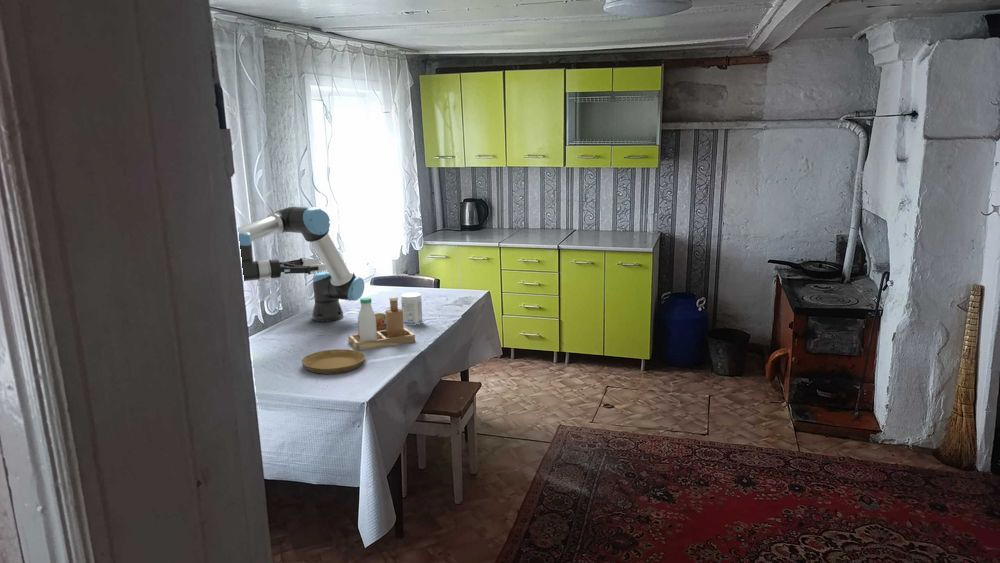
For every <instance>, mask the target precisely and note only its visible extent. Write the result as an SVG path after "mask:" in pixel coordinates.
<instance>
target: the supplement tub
mask: <svg viewBox="0 0 1000 563" xmlns="http://www.w3.org/2000/svg"><path fill="white" fill-rule="evenodd" d="M400 297H401V298H400V300H401V301H400V303H401V305H400V306H401V309H402V310H403V321H404V326H417V325H416V324H418V325H421V324H423V307H422V306H423V302H422V294H421V293H420V292H405V293H402V294H401V296H400ZM420 323H421V324H420Z"/></svg>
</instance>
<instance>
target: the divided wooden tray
mask: <svg viewBox="0 0 1000 563" xmlns="http://www.w3.org/2000/svg"><path fill="white" fill-rule="evenodd" d="M415 342H416V334H415V333H413V332H412V331H410V330H409V329H408V328H406V326H404V336H399V337H392V338H387V336H386V329H383V330H382V329H381V330H377V340H371V341H364V342H359V336H358V333H356V334H355V333H354V334H348V343H349V344H350V345H351V346H352V347H353V348H354V349H355V351H363V350H370V349H376V348H377V349H378V348H382V347H388V346H389V347H390V346H397V345H402V344H408V343H409V344H410V343H415Z"/></svg>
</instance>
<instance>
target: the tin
mask: <svg viewBox="0 0 1000 563" xmlns="http://www.w3.org/2000/svg"><path fill="white" fill-rule="evenodd" d="M375 316H376V328H377V331H379V330H382V329H383V330H384V329H386V314H385V313H381V312H376V313H375Z"/></svg>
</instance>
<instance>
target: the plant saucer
mask: <svg viewBox="0 0 1000 563" xmlns="http://www.w3.org/2000/svg"><path fill="white" fill-rule="evenodd" d="M365 358H366V356H365V354H364V353H363V352H361V351H360V350H356V349H355V350H354V349H346V348H345V349H343V348H341V349H339V348H337V349H327V350H321V351H316V352H313V353H310V354H307V355H306V356H304V357H303V358H302V360H301V364H302V366H303V367H304V368H306V369H307V370H309V371H311V372H313V373H316V374H322V375H323V374H324V375H330V374H331V375H332V374H333V375H334V374H340V373H346V372H350V371H352V370H355V369H356V368H358V367H359V366H361V364H362V363H364V360H365Z"/></svg>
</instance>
